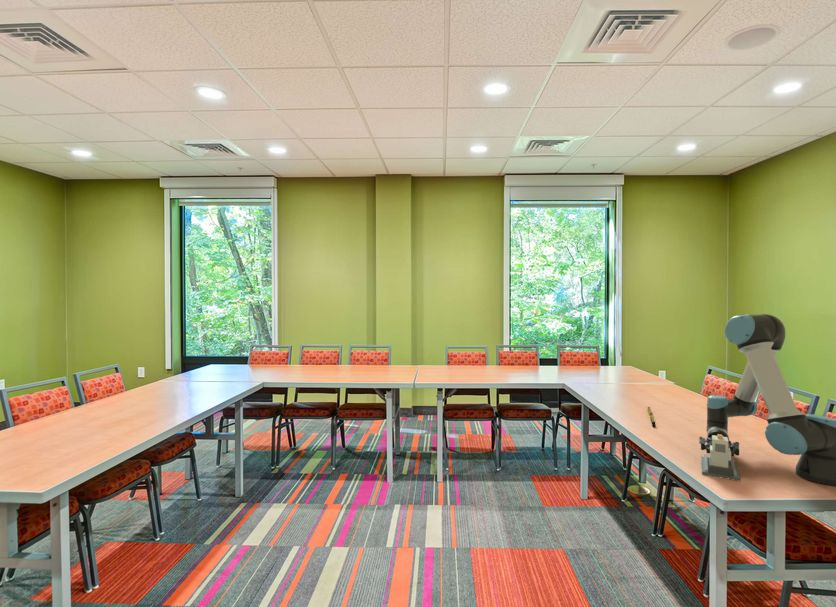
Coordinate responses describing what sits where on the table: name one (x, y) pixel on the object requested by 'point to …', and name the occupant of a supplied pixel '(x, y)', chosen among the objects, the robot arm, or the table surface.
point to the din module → (720, 451)
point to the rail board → (720, 469)
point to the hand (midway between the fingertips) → (720, 455)
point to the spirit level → (651, 417)
